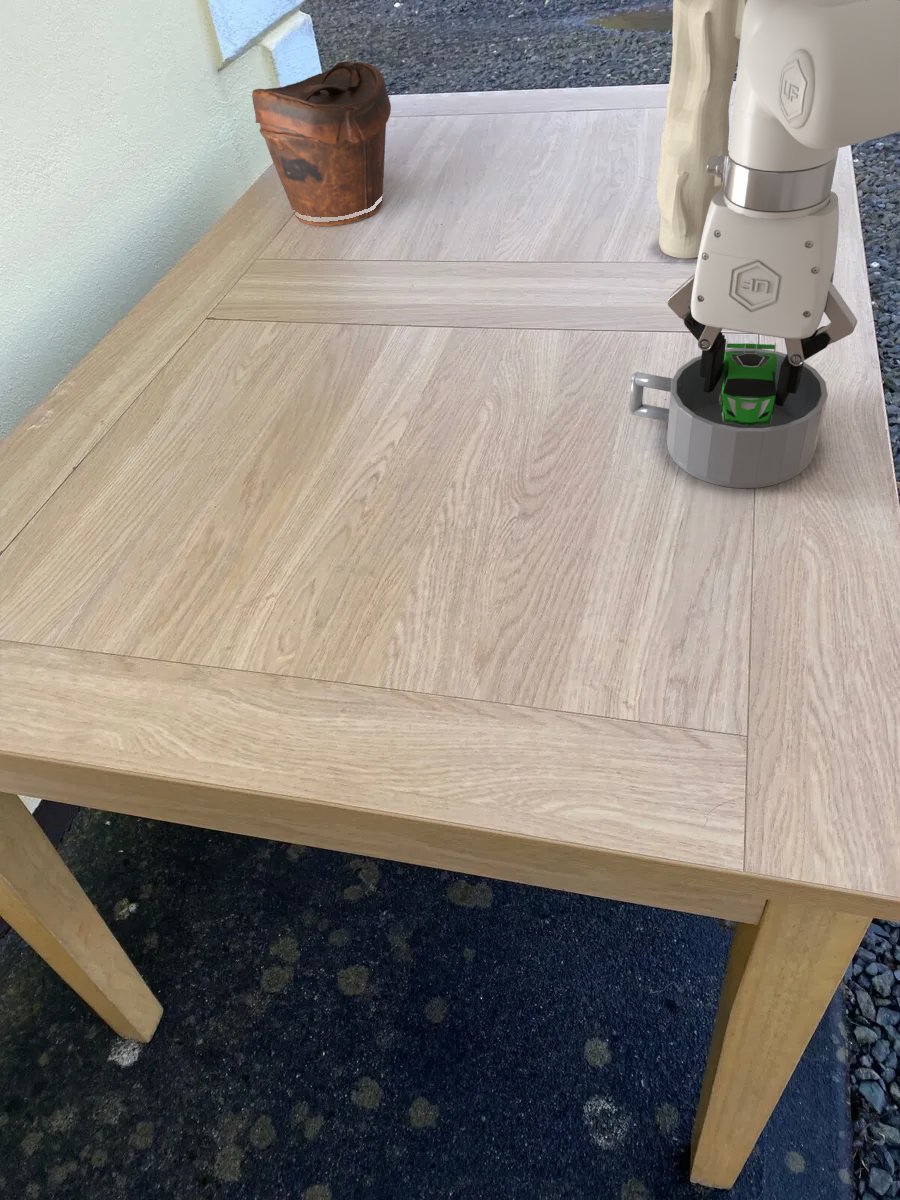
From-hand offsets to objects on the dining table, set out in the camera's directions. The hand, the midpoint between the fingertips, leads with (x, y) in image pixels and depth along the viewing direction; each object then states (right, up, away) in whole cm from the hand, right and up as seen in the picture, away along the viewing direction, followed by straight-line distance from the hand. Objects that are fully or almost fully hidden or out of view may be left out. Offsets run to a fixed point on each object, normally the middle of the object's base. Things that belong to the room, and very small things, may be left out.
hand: (747, 388), depth 79 cm
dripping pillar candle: (+3, +24, +32) cm, 40 cm away
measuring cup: (-1, -3, +5) cm, 6 cm away
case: (-41, +38, +52) cm, 77 cm away
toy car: (0, -1, +1) cm, 1 cm away
